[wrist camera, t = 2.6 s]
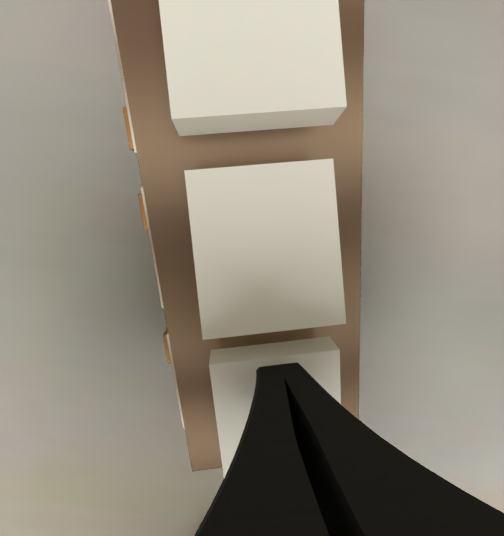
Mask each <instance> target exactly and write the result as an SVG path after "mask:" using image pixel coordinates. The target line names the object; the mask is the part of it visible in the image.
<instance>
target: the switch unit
mask: <svg viewBox="0 0 504 536" xmlns="http://www.w3.org/2000/svg"><path fill="white" fill-rule="evenodd" d="M338 2H339V15H340V27H341V40H342V52H343V65H344V77H345V89H346V102H347V107H346V108H345V110H344V111H343V112H342V114H341V115H340V117H339V118H338V119H337V121H336V122H335V123H334V125H325V126H311V127H298V128H285V129H271V130H258V131H244V132H231V133H217V134H204V135H190V136H179V134H178V132H177V130H176V128H175V126H174V124H173V121H172V119H171V111H170V102H169V93H168V83H167V74H166V65H165V56H164V46H163V37H162V28H161V19H160V9H159V0H108V5H109V10H110V16H111V22H112V28H113V33H114V39H115V45H116V50H117V56H118V62H119V67H120V73H121V79H122V85H123V90H124V96H125V102H126V107H123V112H124V118H125V123H126V129H127V135H128V140H129V146H130V149H131V150H133V151H134V153H136V154H137V156H138V161H139V167H140V173H141V179H142V185H143V187H141V194H138V196H139V202H140V207H141V213H142V219H143V224H144V230H148V233H149V238H150V244H151V250H152V255H153V261H154V267H155V273H156V278H157V284H158V290H159V295H160V301H161V307H162V308H164V311H165V317H166V323H167V329H166V331H165V333H164V335H163V336H164V342H165V347H166V353H167V359H168V364H169V363H171V364H172V369H173V375H174V381H175V387H176V392H177V398H178V404H179V409H180V415H181V421H182V426H183V428H185V433H186V438H187V444H188V450H189V456H190V461H191V467H192V471H200V470H207V469H214V468H221V467H222V460H221V453H220V445H219V438H218V430H217V423H216V415H215V408H214V400H213V392H212V385H211V377H210V370H209V360H210V353H211V350H215V349H224V348H232V347H241V346H250V345H259V344H267V343H276V342H285V341H293V340H302V339H311V338H320V337H328V336H330V337H331V339H332V340H333V341H334V343H335V344H336V345H337V347H338V348H339V349H340V385H341V405H342V406H343V407H344V408H346V409H347V410H348V411H349V412H350V413H351V414H352V415H354V416H355V417H356V418H357V419H359V352H360V278H361V204H362V130H363V56H364V0H338ZM332 158H333V162H334V174H335V187H336V199H337V212H338V224H339V237H340V250H341V262H342V275H343V287H344V300H345V312H346V324H340V325H331V326H323V327H314V328H305V329H296V330H287V331H278V332H269V333H260V334H252V335H243V336H234V337H225V338H216V339H207V340H203V339H202V330H201V321H200V311H199V302H198V293H197V284H196V274H195V265H194V256H193V247H192V237H191V228H190V219H189V210H188V200H187V191H186V182H185V173H184V170H196V169H208V168H221V167H233V166H246V165H258V164H270V163H283V162H295V161H308V160H320V159H332Z"/></svg>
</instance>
